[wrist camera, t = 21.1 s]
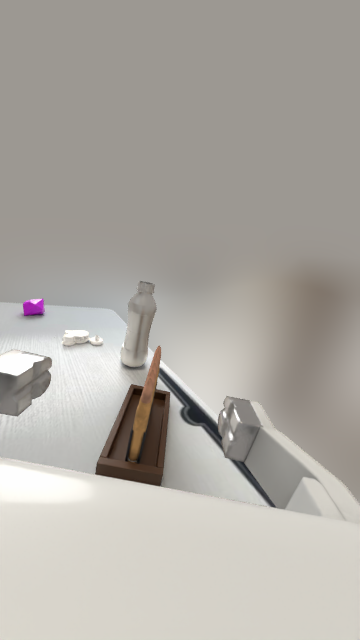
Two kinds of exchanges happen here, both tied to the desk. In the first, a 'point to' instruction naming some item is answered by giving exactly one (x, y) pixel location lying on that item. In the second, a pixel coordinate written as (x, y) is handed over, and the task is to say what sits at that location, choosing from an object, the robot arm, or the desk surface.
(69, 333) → the white lobed figurine
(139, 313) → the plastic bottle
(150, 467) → the tray
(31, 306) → the crystal
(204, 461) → the desk surface
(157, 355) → the ammunition clip
